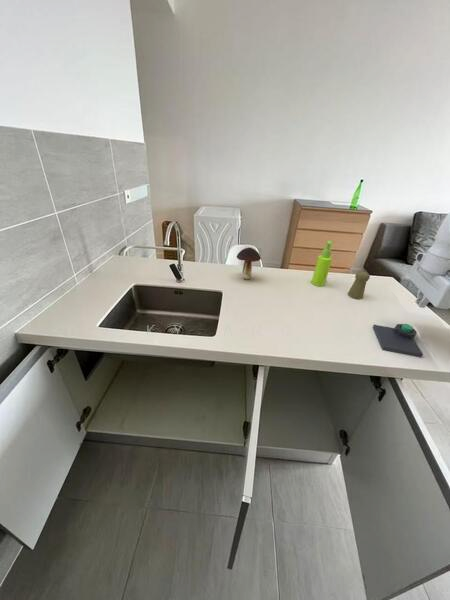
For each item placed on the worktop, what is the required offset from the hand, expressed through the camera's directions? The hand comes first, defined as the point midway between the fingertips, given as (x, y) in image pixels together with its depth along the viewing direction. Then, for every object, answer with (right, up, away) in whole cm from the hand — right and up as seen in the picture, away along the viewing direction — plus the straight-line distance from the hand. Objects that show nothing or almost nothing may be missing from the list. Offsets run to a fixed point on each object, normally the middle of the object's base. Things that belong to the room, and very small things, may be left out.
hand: (419, 305), depth 76 cm
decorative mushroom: (-51, +12, +38) cm, 65 cm away
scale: (-5, -12, +4) cm, 14 cm away
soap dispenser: (-18, +9, +38) cm, 43 cm away
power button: (-1, -8, +5) cm, 10 cm away
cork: (-5, +3, +29) cm, 30 cm away
